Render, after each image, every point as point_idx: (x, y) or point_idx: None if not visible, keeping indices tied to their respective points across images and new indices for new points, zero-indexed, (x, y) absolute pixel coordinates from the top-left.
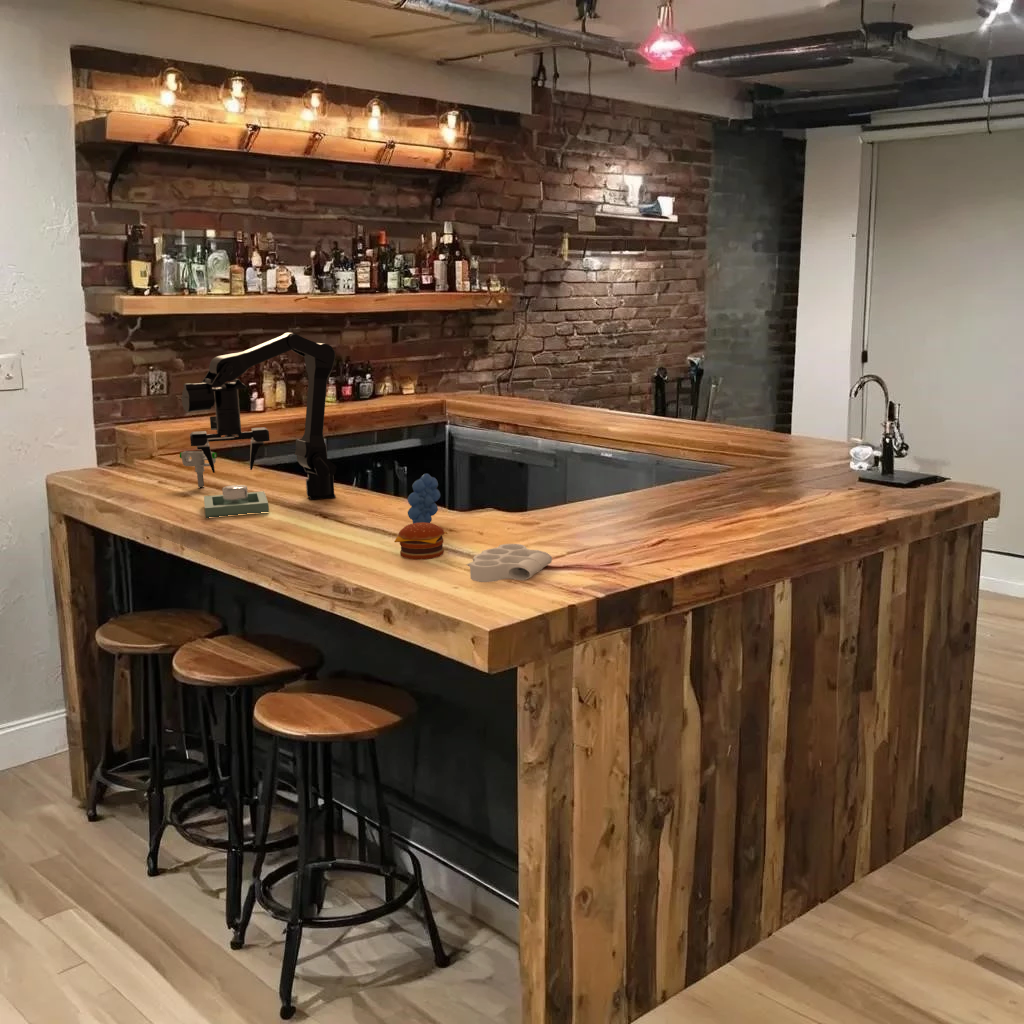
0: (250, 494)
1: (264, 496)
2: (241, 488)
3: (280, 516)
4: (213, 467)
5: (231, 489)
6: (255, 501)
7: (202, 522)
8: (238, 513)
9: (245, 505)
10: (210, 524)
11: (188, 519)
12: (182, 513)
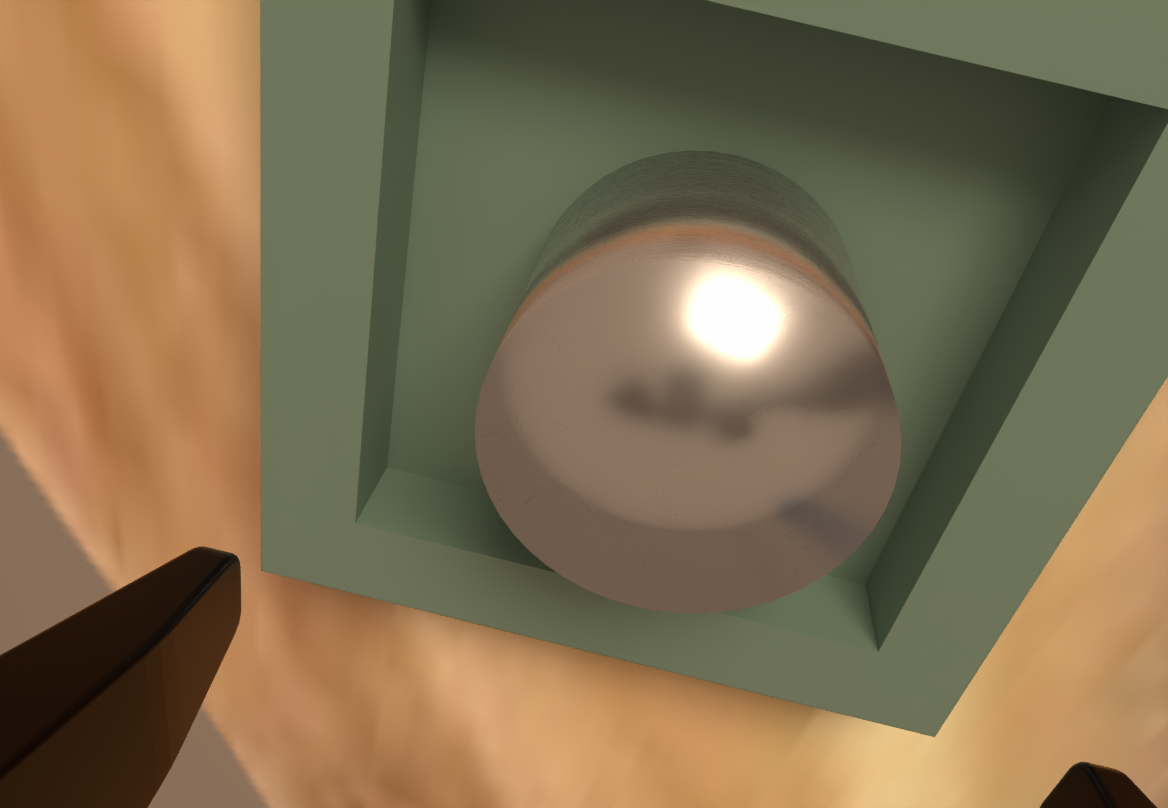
0: (1060, 81)
1: (1113, 421)
2: (749, 575)
3: (932, 783)
4: (153, 766)
5: (590, 558)
6: (1078, 100)
7: (275, 597)
8: None
9: (689, 669)
10: (335, 686)
11: (147, 425)
12: (49, 87)
